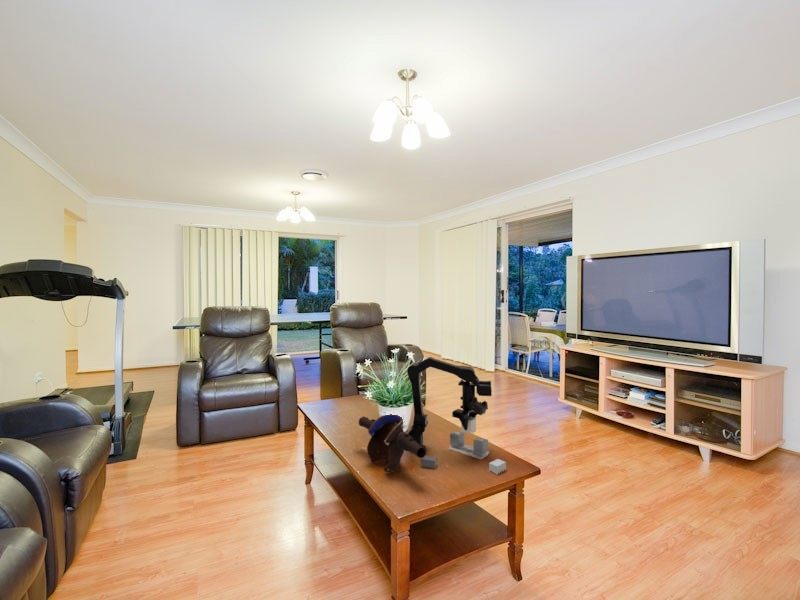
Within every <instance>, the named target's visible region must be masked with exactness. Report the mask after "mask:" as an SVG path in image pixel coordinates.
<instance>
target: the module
mask: <svg viewBox="0 0 800 600" xmlns="http://www.w3.org/2000/svg"><path fill="white" fill-rule="evenodd" d="M460 423H461V422H460ZM460 426H461V429H460V432H463V433H464V434H468V435H469V434H470V435H472V434H473V433H476V432H477V417H476V418H474V417H470V418H469V419H468V427H467V430H464V428H463V425H462V423H461V425H460Z"/></svg>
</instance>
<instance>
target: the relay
mask: <svg viewBox="0 0 800 600" xmlns="http://www.w3.org/2000/svg"><path fill="white" fill-rule="evenodd" d="M437 464H438V457H437V456H433V455H427V454H426V455H425V456H424V457H423V458H420V467H421V468H427V469H436V467H437Z"/></svg>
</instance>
